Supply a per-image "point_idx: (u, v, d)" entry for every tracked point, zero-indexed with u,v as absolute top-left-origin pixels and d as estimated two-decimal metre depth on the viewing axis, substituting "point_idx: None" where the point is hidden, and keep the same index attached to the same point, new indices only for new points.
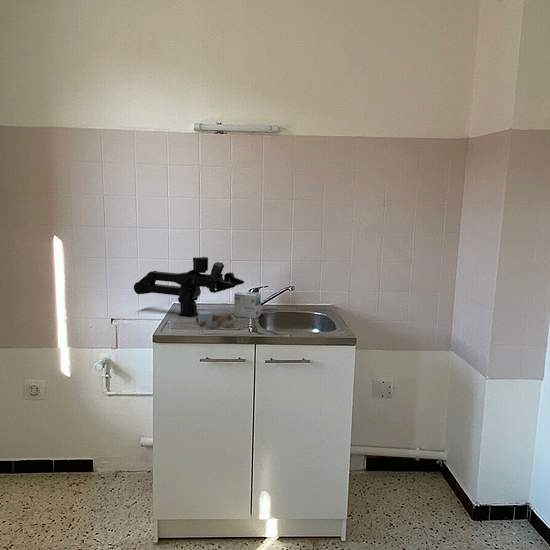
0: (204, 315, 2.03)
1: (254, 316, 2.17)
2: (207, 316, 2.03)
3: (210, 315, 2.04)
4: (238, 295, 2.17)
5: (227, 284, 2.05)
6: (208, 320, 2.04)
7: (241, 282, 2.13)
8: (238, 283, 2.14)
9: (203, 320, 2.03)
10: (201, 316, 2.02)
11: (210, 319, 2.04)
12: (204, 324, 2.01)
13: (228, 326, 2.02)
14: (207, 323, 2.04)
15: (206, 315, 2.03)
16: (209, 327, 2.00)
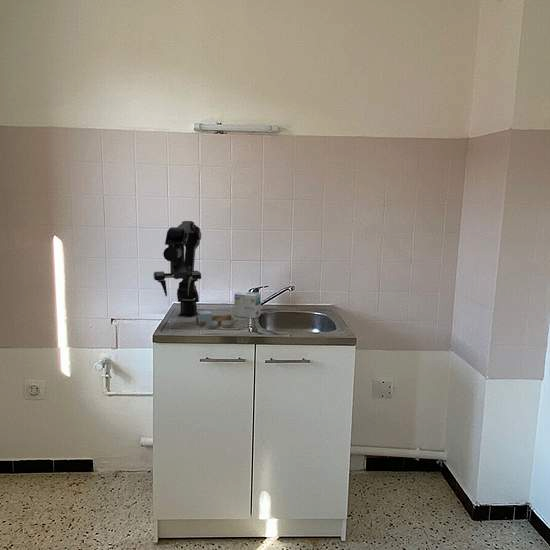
0: (204, 315, 2.03)
1: (254, 316, 2.17)
2: (207, 316, 2.03)
3: (210, 315, 2.04)
4: (238, 295, 2.17)
5: (163, 289, 1.97)
6: (208, 320, 2.04)
7: (188, 292, 2.02)
8: (188, 289, 2.02)
9: (203, 320, 2.03)
10: (201, 316, 2.02)
11: (210, 319, 2.04)
12: (204, 324, 2.01)
13: (228, 326, 2.02)
14: (207, 323, 2.04)
15: (206, 315, 2.03)
16: (209, 327, 2.00)
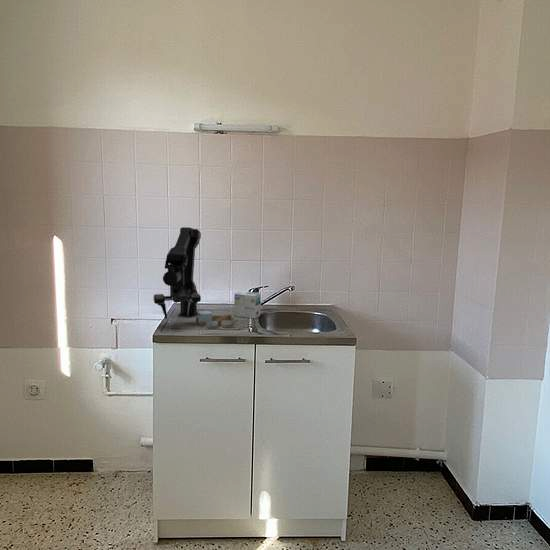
0: (204, 315, 2.03)
1: (254, 316, 2.17)
2: (207, 316, 2.03)
3: (210, 315, 2.04)
4: (238, 295, 2.17)
5: (163, 312, 1.99)
6: (208, 320, 2.04)
7: (187, 314, 2.03)
8: (187, 311, 2.04)
9: (203, 320, 2.03)
10: (201, 316, 2.02)
11: (210, 319, 2.04)
12: (204, 324, 2.01)
13: (228, 326, 2.02)
14: (207, 323, 2.04)
15: (206, 315, 2.03)
16: (209, 327, 2.00)
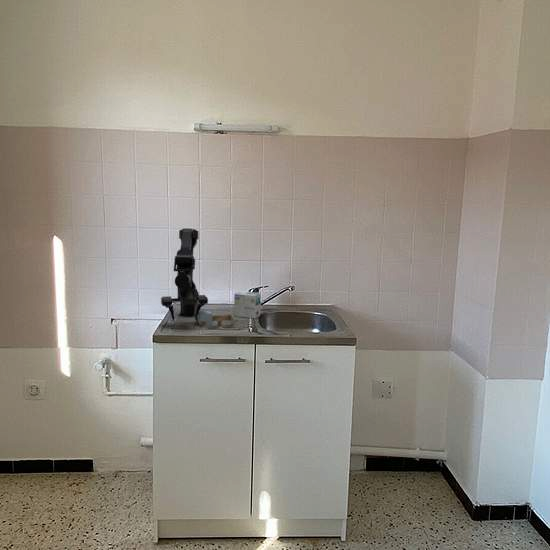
0: (204, 315, 2.03)
1: (254, 316, 2.17)
2: (207, 316, 2.03)
3: (210, 315, 2.04)
4: (238, 295, 2.17)
5: (171, 314, 2.00)
6: (208, 320, 2.04)
7: None
8: (194, 313, 2.05)
9: (203, 320, 2.03)
10: (201, 316, 2.02)
11: (210, 319, 2.04)
12: (204, 324, 2.01)
13: (228, 326, 2.02)
14: (207, 323, 2.04)
15: (206, 315, 2.03)
16: (209, 327, 2.00)
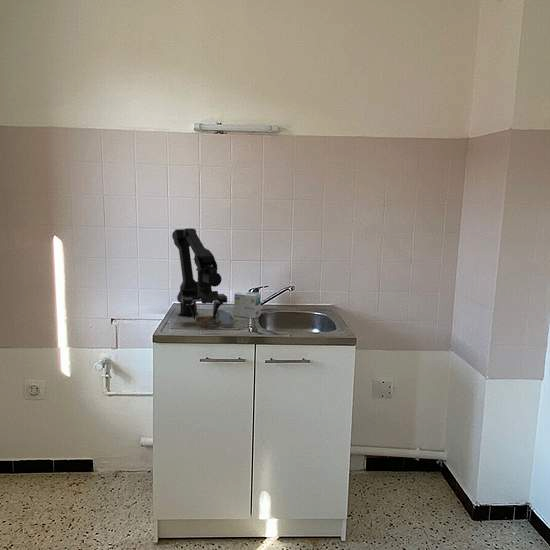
0: (223, 314, 2.05)
1: (254, 316, 2.17)
2: (226, 315, 2.06)
3: (228, 314, 2.06)
4: (238, 295, 2.17)
5: (192, 312, 2.03)
6: (226, 319, 2.06)
7: (213, 315, 2.07)
8: (213, 312, 2.07)
9: (221, 318, 2.05)
10: (220, 315, 2.05)
11: (228, 318, 2.07)
12: (204, 324, 2.01)
13: (228, 326, 2.02)
14: (225, 322, 2.06)
15: (224, 314, 2.06)
16: (209, 327, 2.00)
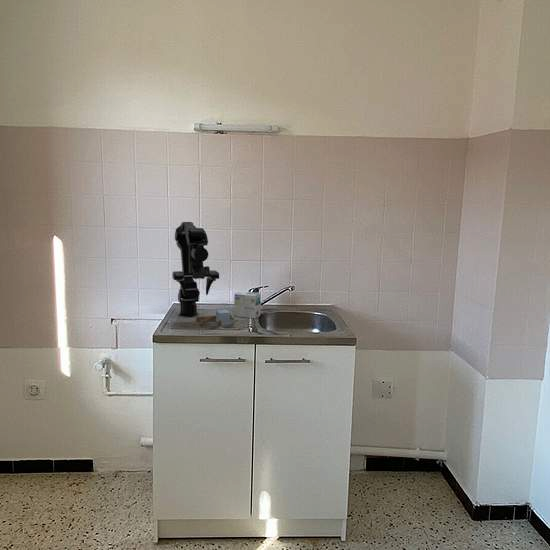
0: (222, 314, 2.05)
1: (254, 316, 2.17)
2: (226, 315, 2.06)
3: (228, 314, 2.06)
4: (238, 295, 2.17)
5: (182, 289, 2.00)
6: (226, 319, 2.06)
7: (206, 292, 2.04)
8: (206, 288, 2.05)
9: (221, 319, 2.06)
10: (219, 315, 2.05)
11: (228, 318, 2.07)
12: (204, 324, 2.01)
13: (228, 326, 2.02)
14: (225, 322, 2.06)
15: (224, 314, 2.06)
16: (209, 327, 2.00)
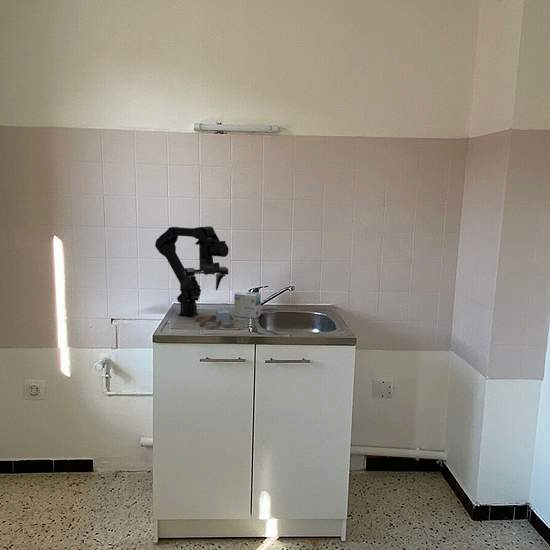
0: (222, 314, 2.05)
1: (254, 316, 2.17)
2: (226, 315, 2.06)
3: (228, 314, 2.06)
4: (238, 295, 2.17)
5: (193, 284, 2.10)
6: (226, 319, 2.06)
7: (216, 287, 2.14)
8: (216, 284, 2.15)
9: (221, 319, 2.06)
10: (219, 315, 2.05)
11: (228, 318, 2.07)
12: (204, 324, 2.01)
13: (228, 326, 2.02)
14: (225, 322, 2.06)
15: (224, 314, 2.06)
16: (209, 327, 2.00)
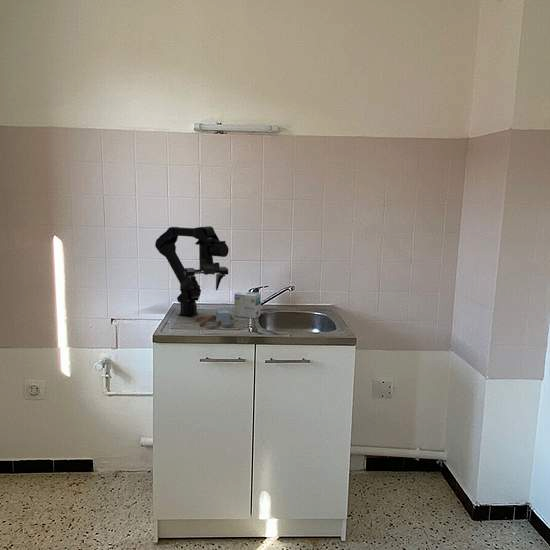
0: (222, 314, 2.05)
1: (254, 316, 2.17)
2: (226, 315, 2.06)
3: (228, 314, 2.06)
4: (238, 295, 2.17)
5: (193, 284, 2.10)
6: (226, 319, 2.06)
7: (216, 287, 2.14)
8: (216, 284, 2.15)
9: (221, 319, 2.06)
10: (219, 315, 2.05)
11: (228, 318, 2.07)
12: (204, 324, 2.01)
13: (228, 326, 2.02)
14: (225, 322, 2.06)
15: (224, 314, 2.06)
16: (209, 327, 2.00)
